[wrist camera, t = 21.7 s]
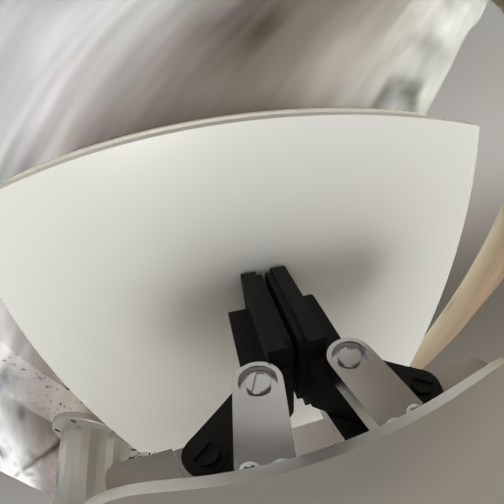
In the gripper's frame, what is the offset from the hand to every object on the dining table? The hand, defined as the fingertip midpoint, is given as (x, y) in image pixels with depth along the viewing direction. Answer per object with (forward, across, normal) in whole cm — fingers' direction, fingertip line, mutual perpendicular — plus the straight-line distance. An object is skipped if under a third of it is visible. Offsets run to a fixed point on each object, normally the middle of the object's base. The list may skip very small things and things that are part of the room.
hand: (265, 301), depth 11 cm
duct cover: (+2, 0, +14) cm, 14 cm away
